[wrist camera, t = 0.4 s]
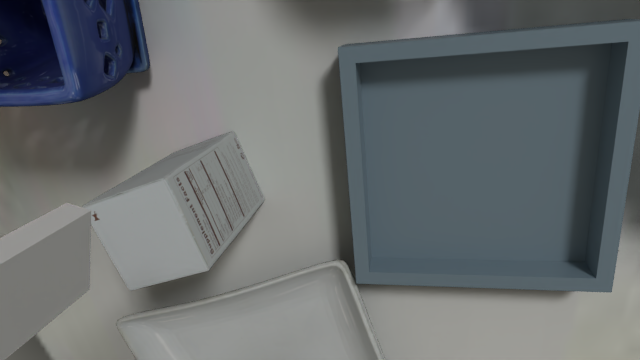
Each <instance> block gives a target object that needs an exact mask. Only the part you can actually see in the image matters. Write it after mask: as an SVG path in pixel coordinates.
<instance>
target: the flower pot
mask: <svg viewBox="0 0 640 360" xmlns="http://www.w3.org/2000/svg"><path fill="white" fill-rule="evenodd" d="M0 39H1V40H2V43H1V44H0V107H18V106H44V105H58V104H66V103H73V102H78V101H82V100H86V99H88V98H91V97H93V96H95V95H97V94H100V93H102V92H104V91H106V90H108V89H109V88H111V87H112V86H114V85H115V84H117V83H118V82H119V81H120V80H121V79H122V78H123V77H124V76H125V75H126V73H135V72H143V71H146V70H148V69H149V66H150V62H149V54H148V49H147V44H146V38H145V33H144V28H143V23H142V17H141V12H140V7H139V2H138V0H0ZM4 71H8V73H9V76H5V75H4V74H3V72H4Z"/></svg>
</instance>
